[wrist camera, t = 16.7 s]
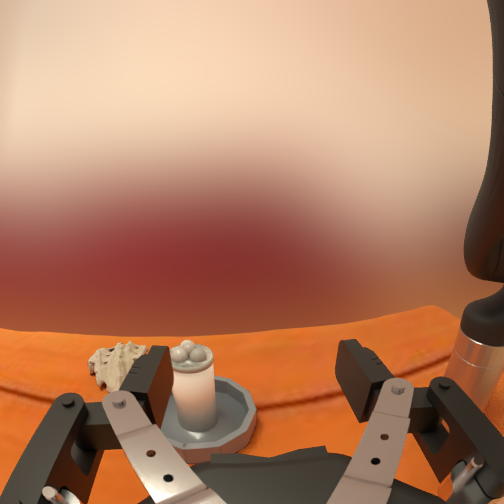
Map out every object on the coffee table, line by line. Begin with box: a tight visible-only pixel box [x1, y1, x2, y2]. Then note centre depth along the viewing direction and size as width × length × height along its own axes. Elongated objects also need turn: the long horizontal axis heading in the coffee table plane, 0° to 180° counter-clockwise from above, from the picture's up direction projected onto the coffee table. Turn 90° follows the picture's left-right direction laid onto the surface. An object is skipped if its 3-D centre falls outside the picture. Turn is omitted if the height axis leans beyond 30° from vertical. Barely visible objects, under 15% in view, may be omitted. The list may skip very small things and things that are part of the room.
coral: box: [88, 341, 148, 393], centre depth 47 cm, size 15×12×5 cm
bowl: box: [161, 376, 256, 464], centre depth 36 cm, size 17×17×4 cm
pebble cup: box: [170, 340, 218, 433], centre depth 34 cm, size 6×6×14 cm
